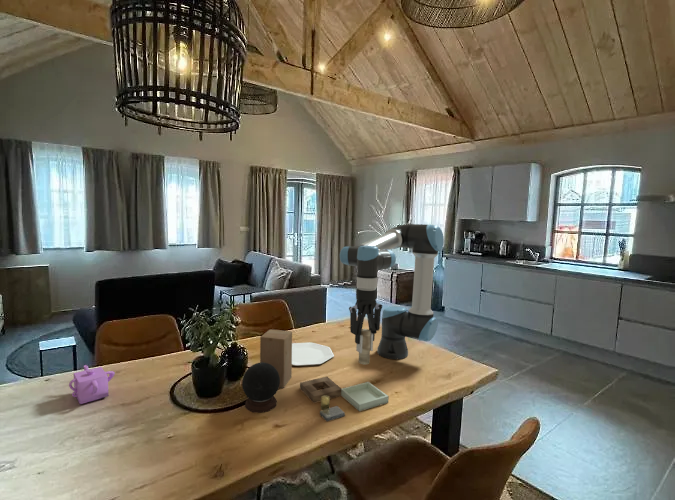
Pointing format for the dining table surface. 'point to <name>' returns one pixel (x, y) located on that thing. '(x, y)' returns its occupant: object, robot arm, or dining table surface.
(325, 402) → the cylinder
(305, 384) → the socket block
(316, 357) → the plate
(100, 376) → the teapot
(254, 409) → the black ball on stand
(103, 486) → the dining table surface
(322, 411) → the steel plate
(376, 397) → the tray
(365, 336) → the dowel
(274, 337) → the wooden block
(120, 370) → the dining table surface
